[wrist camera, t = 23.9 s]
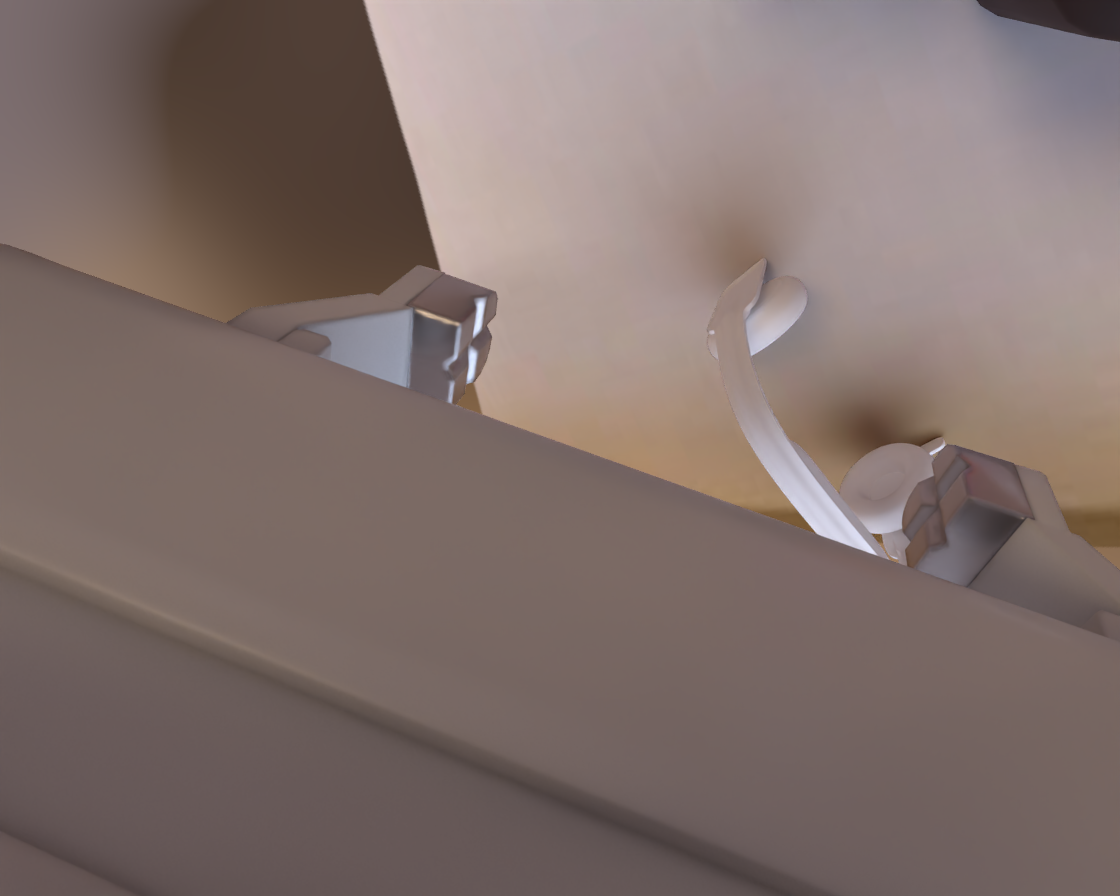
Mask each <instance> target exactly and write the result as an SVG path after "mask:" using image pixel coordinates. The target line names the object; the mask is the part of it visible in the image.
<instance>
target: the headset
mask: <svg viewBox="0 0 1120 896" xmlns="http://www.w3.org/2000/svg"><path fill="white" fill-rule="evenodd" d="M766 265H767V261H766V259H765V258H762V259H761V260H760V261H758V262H757V263H756V264H755V265H753V266H752V267H751V268H750V269H748V270H747V271H746V272H745V273H743V274H742V275H741V276H740V277H738V278H737V279H736V280H735V281H734V282H733V283H731V284H730V285H729V286H728V287H727V288H726V289H725V290H724V291H723V293H722V294H721V296H720V299H719V301H718V303H717V305H716V308H715V310H714V312H713V315H712V317H711V320H710V322H709V324H708V327H707V331H708V333H709V335H708V338H707V345H708V349H709V351H710V353H711V354H712V355H713V356H714V357H715V358H716V359H717V360H719V365H720V370H721V374H722V379H723V382H724V386H725V389H726V393H727V396H728V399H729V401H730V404H731V407H732V409H733V412H734V414H735V416H736V419H737V421H738V423H739V425H740V427H741V429H742V431H743V433H744V435H745V437H746V438H747V440H748V442H749V444H750V445H751V447H752V449H753V450H754V452H755V453H756V455H757V457H758V458H759V460H760V461H761V463H762V464H763V466H764V467H765V468H766V470H767V471H768V473H769V474H770V475H771V477H772V478H773V480H774V481H775V482H776V484H777V485H778V486H779V488H780V489H781V490H782V491H783V493H784V494H785V495H786V497H787V498H788V499H789V500H790V502H791V503H792V504H793V505H794V507H795V508H796V509H797V510H798V512H799V513H800V514H801V515H802V516H803V518H804V519H805V520H806V521H807V522H808V524H809V525H810V526H811V527H812V528H813V530H814V531H815V532H816V533H817V534H818V535H821V536H824V537H826V538H829V539H832V540H835V541H838V542H840V543H843V544H846V545H849V546H852V547H854V548H857V549H860V550H863V551H866V552H868V553H871V554H874V555H877V556H880V557H882V558H885V559H888V560H889V558H888V556H887V555H886V553H885V552H884V550H883V549H882V547H881V546H880V545H879V543H878V542H877V541H876V539H875V538H874V537H873V536H872V534H871V533H875V534H882V539H883V543H884V547H885V549H886V552H887V553H888V554H889V555H890V556H891V557H892V558H894V559H898V561H899V564H902V565H905V566H907V561H906V554H905V549H906V548H907V546H908V545H909V544H910V540H909V539H908V538H907V537H906V536H905V535H904V533H903V531H902V516H903V511H904V508H905V505H906V503H907V500H908V497H909V496H910V494H911V493H912V491H913V490H914V488H915V486H916V485H917V483H918V482H920V481H923V480H925V479H927V478H930V477H932V476H934V474H933V468H932V461H933V460H934V458H933V457H932V456H931V455H932V454H934V453H936V452H937V451H939V450H941V449H942V448H944V447H945V441H944V439H943V438H942V437H939V438H936V439H934V440H932V441H930V442H928V443H926V444H924V445H922V446H920V447H919V446H916V445H913V444H908V443H894V444H889V445H885V446H882V447H879V448H877V449H875V450H873V451H871V452H869V453H868V454H866V455H865V456H863V457H862V458H861V459H859V460H858V461H857V462H856V463H855V464H854V465H853V466H852V467H851V469H850V470H849V471H848V473H847V474H846V476H845V477H844V479H843V481H842V484H841V487H840V492H839V493H838V492H837V491H836V490H835V488H834V487H833V486H832V484H831V483H830V482H829V481H828V479H827V478H826V477H825V475H824V474H823V473H822V471H821V470H820V469H819V468H818V466H817V465H816V464H815V462H814V461H813V460H812V459H811V457H810V456H809V455H808V454H807V453H806V452H805V451H804V449H803V448H801V447H800V446H799V445H798V444H797V443H795V442H793V441H791V440H789V438H788V437H787V435H786V434H785V432H784V431H783V429H782V427H781V426H780V424H779V422H778V420H777V419H776V417H775V415H774V413H773V411H772V409H771V407H770V405H769V403H768V401H767V399H766V397H765V394H764V392H763V390H762V387H761V385H760V382H759V379H758V376H757V373H756V370H755V367H754V364H753V360H752V355H754V354H756V353H757V352H759V351H761V350H762V349H764V348H765V347H767V346H768V345H770V344H771V343H772V342H774V341H775V340H776V339H778V338H779V337H780V336H781V335H782V334H784V333H785V332H786V331H787V330H788V329H789V328H790V327H791V326H792V325H793V324H794V323H795V322H796V320H797V319H798V318H799V317H800V315H801V314H802V313H803V311H804V309H805V307H806V304H807V299H808V296H807V291H806V288H805V286H804V285H803V283H802V282H801V281H800V280H798V279H797V278H795V277H792V276H781V277H777V278H775V279H772V280H770V281H768V282H766V283H765V284H763V285H762V283H763V278H764V274H765V270H766Z"/></svg>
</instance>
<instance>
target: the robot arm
mask: <svg viewBox="0 0 1120 896" xmlns="http://www.w3.org/2000/svg"><path fill="white" fill-rule="evenodd" d="M497 300H498V298H497V293H496V291H493V290H490V289H487V288H484V287H481V286H479V285H476V284H473V283H470V282H467V281H465V280H462V279H459V278H456V277H453V276H450V275H447V274H445V273H444V272H441V271H437V270H434V269H430V268H427V267H424V266H420V265H418V266H416V267H415V268H413V269H412V270H411V271H410V272H408V273H407V274H406V275H404V276H403V277H402V278H400V279H399V280H398V281H397V282H395V283H394V284H393V285H391V286H390V287H389V288H388V289H386V290H385V291H384V292H382V293H381V294H380V295H378V296H377V295H374V294H371V293H369V294H361V295H352V296H344V297H336V298H327V299H320V300H312V301H303V302H295V303H287V304H278V305H271V306H262V307H254V308H250V309H248V310H246V311H245V312H243V313H241V314H240V315H238V316H236V317H235V318H233V319H232V320H230V321H228V322H227V323H223V322H220V321H218V320H215V319H212V318H209V317H206V316H204V315H201V314H198V313H195V312H192V311H190V310H187V309H184V308H181V307H178V306H175V305H173V304H170V303H167V302H164V301H162V300H159V299H156V298H153V297H150V296H147V295H145V294H142V293H139V292H136V291H133V290H131V289H128V288H125V287H122V286H119V285H116V284H114V283H111V282H108V281H105V280H102V279H100V278H97V277H94V276H91V275H88V274H86V273H83V272H80V271H77V270H74V269H71V268H69V267H66V266H63V265H60V264H58V263H56V262H53V261H50V260H48V259H45V258H43V257H40V256H38V255H35V254H33V253H30V252H27V251H24V250H21V249H18V248H15V247H12V246H10V245H6V244H1V243H0V896H1120V570H1119V569H1118V568H1117V567H1115V566H1114V565H1113V564H1112V563H1111V562H1110V561H1109V560H1107V559H1106V558H1105V557H1104V556H1102V554H1100V553H1099V552H1098V551H1097V550H1096V549H1095V548H1093V547H1092V546H1091V545H1090V544H1089V543H1088V542H1086V541H1085V540H1084V539H1083V538H1082V537H1081V536H1079V535H1076V534H1073V533H1070V531H1069V529H1068V526H1067V524H1066V522H1065V519H1064V517H1063V515H1062V512H1061V510H1060V508H1059V505H1058V503H1057V500H1056V498H1055V496H1054V493H1053V491H1052V489H1051V486H1050V484H1049V482H1048V479H1047V477H1046V475H1044V474H1043V473H1041V472H1040V471H1036V470H1033V469H1029V468H1026V467H1022V466H1019V465H1015V464H1014V463H1011V462H1008V461H1005V460H1002V459H998V458H995V457H992V456H989V455H985V454H982V453H979V452H976V451H973V450H969V449H966V448H963V447H960V446H956V445H949V444H947V445H946V446H945V447H944V448H943V449H942V450H941V451H940V452H939V453H938V454H937V456H936V457H935V459H934V460H933V461H932V468H933V474H934V476H932V477H930V478H927V479H925V480H923V481H920V482H918V483H917V485H916V486H915V488H914V490H913V491H912V493H911V494H910V496H909V497H908V500H907V503H906V505H905V508H904V511H903V516H902V531H903V533H904V535H905V536H906V537H907V538H908V539H909V540H910V544H909V545H908V546H907V548H906V549H905V554H906V561H907V566H905V565H902V564H899V563H896V562H893V561H891V560H888V559H885V558H882V557H880V556H877V555H874V554H871V553H868V552H866V551H863V550H860V549H857V548H854V547H852V546H849V545H846V544H843V543H840V542H838V541H835V540H832V539H829V538H826V537H824V536H821V535H818V534H815V533H812V532H810V531H807V530H804V529H801V528H798V527H796V526H793V525H790V524H787V523H784V522H782V521H779V520H776V519H773V518H770V517H768V516H765V515H762V514H759V513H756V512H754V511H751V510H748V509H745V508H742V507H740V506H737V505H734V504H731V503H728V502H726V501H723V500H720V499H717V498H714V497H712V496H709V495H706V494H703V493H700V492H698V491H695V490H692V489H689V488H686V487H684V486H681V485H678V484H675V483H672V482H670V481H667V480H664V479H661V478H658V477H655V476H653V475H650V474H647V473H644V472H641V471H639V470H636V469H633V468H630V467H627V466H625V465H622V464H619V463H616V462H613V461H611V460H608V459H605V458H602V457H599V456H597V455H594V454H591V453H588V452H585V451H583V450H580V449H577V448H574V447H571V446H569V445H566V444H563V443H560V442H557V441H555V440H552V439H549V438H546V437H543V436H541V435H538V434H535V433H532V432H529V431H527V430H524V429H521V428H518V427H515V426H513V425H510V424H507V423H504V422H501V421H499V420H496V419H493V418H490V417H487V416H485V415H482V414H479V413H476V412H473V411H470V410H467V409H465V408H462V407H459V406H457V405H456V404H457V403H458V401H459V400H460V399H461V398H462V396H463V395H464V394H465V387H466V384H468V383H472V382H475V380H476V379H477V378H478V376H479V375H480V374H481V371H482V369H483V367H484V365H485V363H486V361H487V357H488V354H489V350H490V345H491V340H492V336H491V333H490V331H489V329H488V327H487V325H488V323H489V322H490V321H491V320H492V319H493V318H494V316H495V315H496V308H497Z"/></svg>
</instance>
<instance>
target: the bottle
mask: <svg viewBox="0 0 1120 896" xmlns="http://www.w3.org/2000/svg"><path fill="white" fill-rule="evenodd" d="M977 1H978V3H979V4H980V5H981V6H982V7H984V8H986V9H987V10H989V11H991V12H992V13H994V14H996V15H997V16H1001V17H1005V18H1010V19H1014V20H1018V21H1023V22H1027V23H1031V24H1036V25H1040V26H1044V27H1049V28H1053V29H1057V30H1062V31H1066V32H1070V33H1075V34H1079V35H1083V36H1088V37H1093V38H1099V39H1105V40H1111V41H1118V42H1120V0H977Z"/></svg>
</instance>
